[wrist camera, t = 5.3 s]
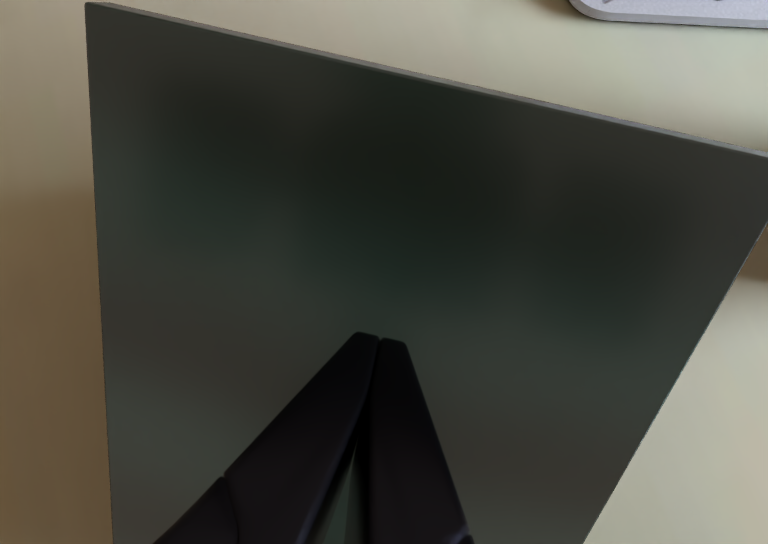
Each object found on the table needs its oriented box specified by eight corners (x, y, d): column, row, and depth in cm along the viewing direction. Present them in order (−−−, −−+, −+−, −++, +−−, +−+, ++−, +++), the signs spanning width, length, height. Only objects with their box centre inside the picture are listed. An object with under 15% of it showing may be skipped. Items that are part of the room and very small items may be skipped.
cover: (108, 2, 9) (82, 1, 8) (777, 154, 9) (802, 165, 8) (126, 528, 15) (112, 550, 14) (521, 621, 15) (524, 647, 14)
